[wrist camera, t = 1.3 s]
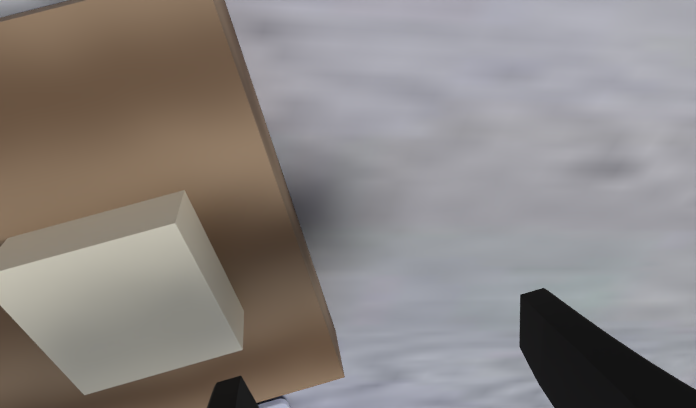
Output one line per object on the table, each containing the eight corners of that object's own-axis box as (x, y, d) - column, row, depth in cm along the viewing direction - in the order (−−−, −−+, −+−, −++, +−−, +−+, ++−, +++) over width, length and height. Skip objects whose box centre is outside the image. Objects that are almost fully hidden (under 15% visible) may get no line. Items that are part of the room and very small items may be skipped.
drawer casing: (335, 330, 24) (344, 377, 21) (46, 413, 23) (20, 471, 21) (212, -36, 14) (202, -30, 11) (-295, 92, 13) (-422, 128, 11)
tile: (244, 311, 18) (242, 349, 16) (100, 351, 18) (84, 395, 16) (184, 190, 15) (175, 223, 13) (7, 238, 14) (-26, 278, 13)
